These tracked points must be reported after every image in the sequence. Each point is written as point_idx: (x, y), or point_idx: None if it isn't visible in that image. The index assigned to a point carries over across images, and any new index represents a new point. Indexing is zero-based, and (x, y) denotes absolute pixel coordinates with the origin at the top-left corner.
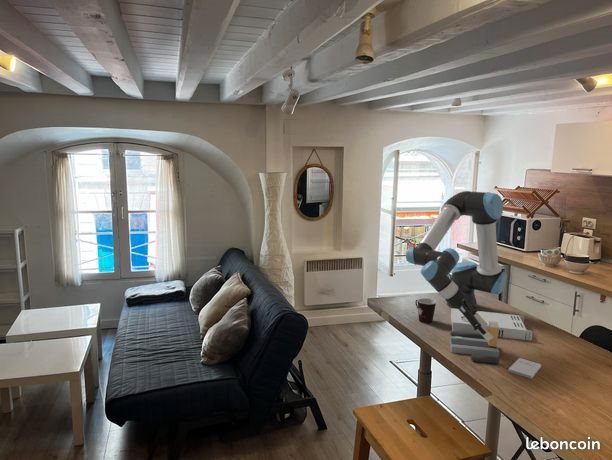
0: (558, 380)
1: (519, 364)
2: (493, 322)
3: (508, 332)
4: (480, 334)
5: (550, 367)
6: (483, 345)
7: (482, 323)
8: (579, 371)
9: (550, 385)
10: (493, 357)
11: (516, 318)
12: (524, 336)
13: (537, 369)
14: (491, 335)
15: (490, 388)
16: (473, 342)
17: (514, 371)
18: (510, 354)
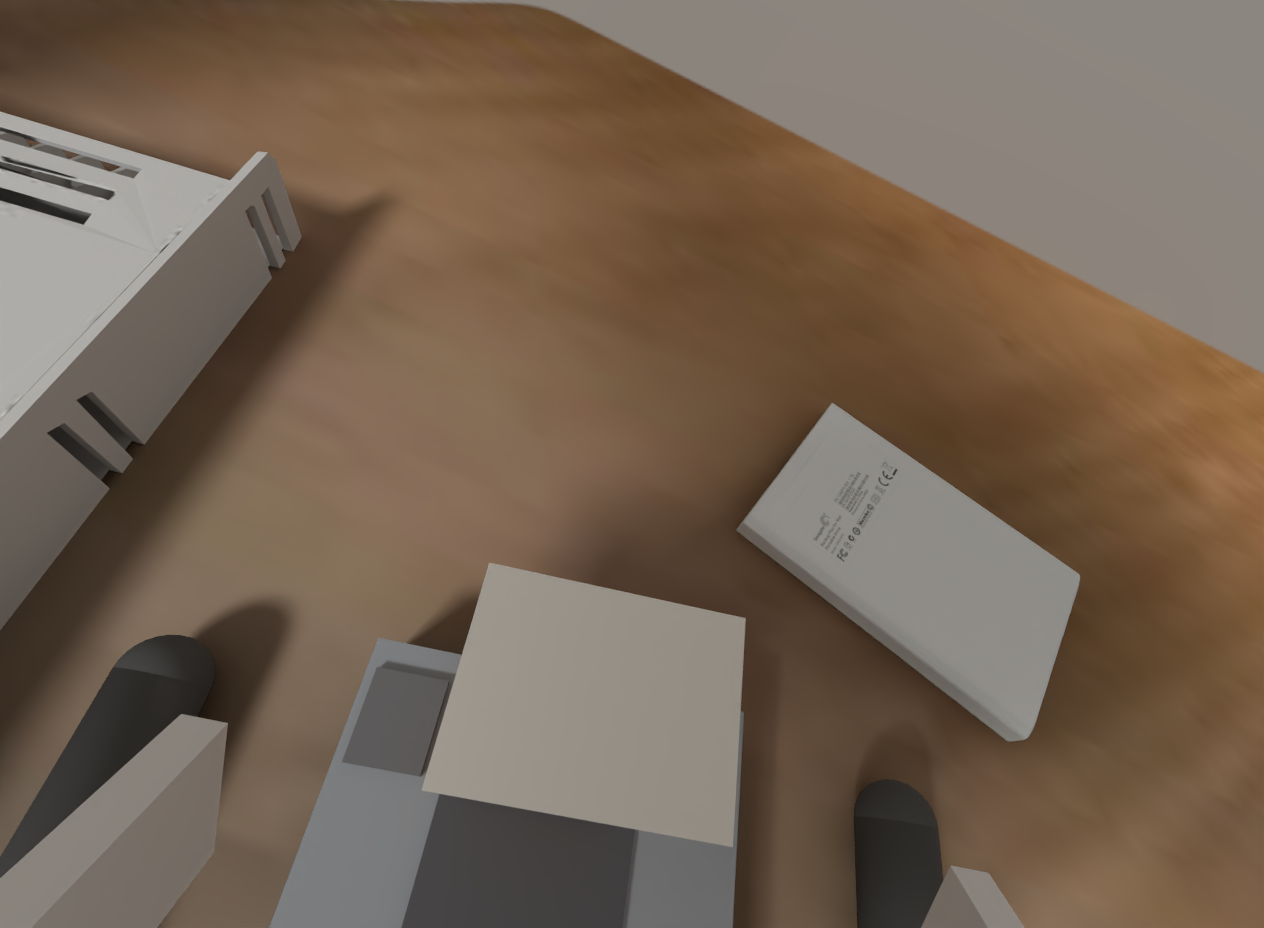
0: (999, 405)
1: (895, 579)
2: (546, 679)
3: (146, 353)
4: (81, 795)
5: (815, 356)
6: (578, 907)
7: (142, 887)
8: (824, 234)
9: (1098, 489)
10: (926, 864)
11: None
12: (258, 252)
13: (926, 468)
14: (1010, 922)
15: None
16: None
17: (1040, 687)
18: (618, 554)
